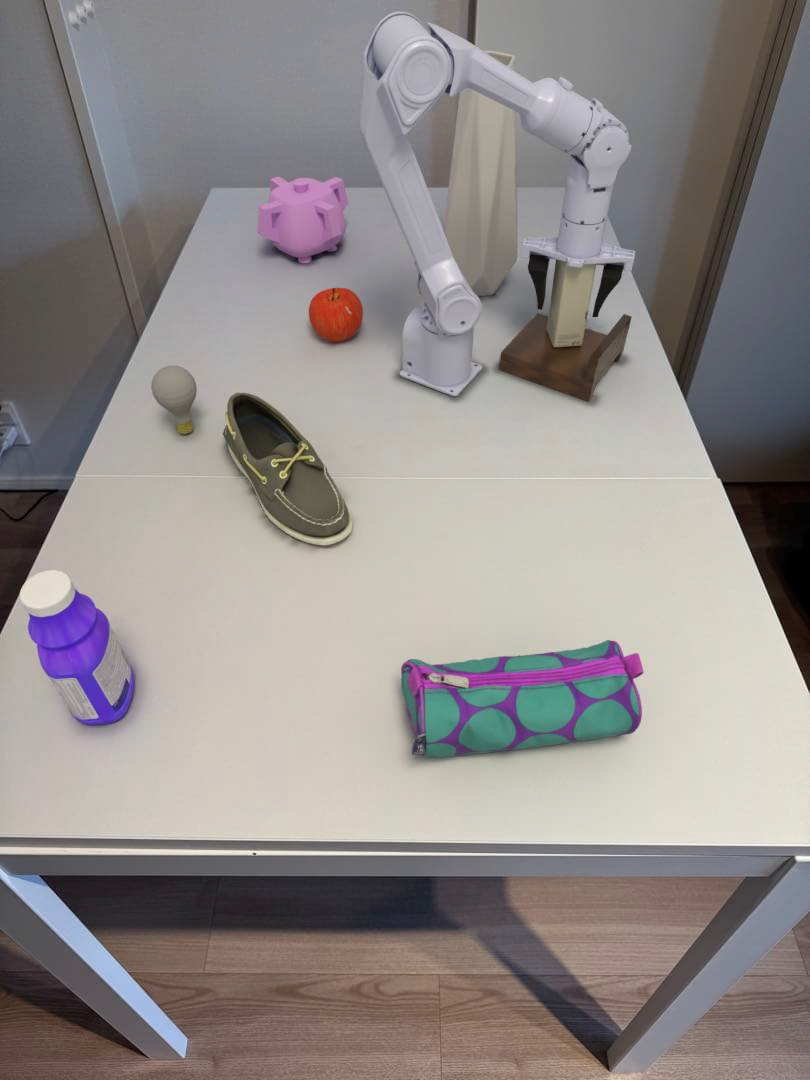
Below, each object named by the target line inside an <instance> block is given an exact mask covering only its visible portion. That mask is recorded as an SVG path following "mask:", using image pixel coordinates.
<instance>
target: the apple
mask: <svg viewBox="0 0 810 1080" xmlns="http://www.w3.org/2000/svg"><path fill="white" fill-rule="evenodd" d="M363 316H364V308H363V304H362V301H361V300H360V297H359V296H358V295H357V294H356V293H355V292H354V291H353V290H351V289H349V288H345V287H330V288H327V289H324V290H321V291H319V292H318V293H316V294H315V295H314V296H313V297H312V298H311V300H310V303H309V306H308V319H309V322H310V326H311V327H312V329H313V330H314V331H315V333H316V334H317V335H318V336H319V337H320V338H322V339H325V340H327V341H329V342H332V343H340V342H343V341H345V340H348V339H350V338H352V337H353V336H354V335H356V334H357V333H358V331H359V330H360V328H361V326H362V322H363Z"/></svg>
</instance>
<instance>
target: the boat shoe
mask: <svg viewBox="0 0 810 1080" xmlns="http://www.w3.org/2000/svg"><path fill="white" fill-rule="evenodd" d="M224 412H225V413H224V416H225V417H224V418H225V422H226V426H225V427H224V429H223V432H222V436H223V439H224V441H225V442H226V445H227V448H228V451H229V455H230V456H231V458H232V460H233V462H234V463H235V465H236V466H237V468H238V469H239V470H240V472H241V473H242V474H243V475H244V477H246V478H247V481H249V483H250V485H251V486H252V488H253V490H254V492H255V494H256V497H257V499H258V502H259V504H260V506H261V508H262V510H263V512H264V513H265V515H266V517H267V518H268V519H269V520H270V521H271V523H273V524H274V525H275V526H276V527H277V528H279V529H280V530H281V531H283V532H284V533H286V534H287V535H289V536H291V537H293V538H294V539H297V540H298V541H302V542H305V543H308V544H311V545H316V546H329V545H333V544H336V543H339V542H341V541H343V540H344V539H346V538H347V537H348V536H350V534H351V533H352V531H353V528H354V520H353V515H352V512H351V510H350V507H349V505H348V504H347V502H346V500H345V499H344V497H343V495H342V494H341V493H340V491H339V488H338V486H337V484H336V483H335V482H334V480H333V478H332V477H331V475H330V474H329V472H328V468H327V465H325V464H324V462H323V461H322V460H321V459H320V457H319V455H318V454H317V452H316V449H315V448H314V446H313V444H311V442H310V441H309V440H308V439H307V438H306V437H305V436H303V434H302V433H301V432H300V431H299V430H298V429H297V428H296V427H295V426H294V425H293V424H292V423H291V422H290V420H289V419H288V418H286V417H285V415H283V414H282V412H281V411H280V410H279V409H278V408H276V407H275V406H273V405H272V404H271V403H269V402H268V401H267V400H265V399H264V398H260V397H259V396H257V395H255V394H251V393H249V392H235V393H233V394H232V395H231V396H230V397H229V399H228V401H227V405H226V410H225V411H224Z"/></svg>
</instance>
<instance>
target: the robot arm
mask: <svg viewBox="0 0 810 1080" xmlns="http://www.w3.org/2000/svg"><path fill="white" fill-rule="evenodd" d="M426 25H427V27H428V30H429V31H428V30H427V29H426V28H425V26H424V24H423V23H422V21H421V20H420V19H419V18H418V17H417V16H416V15H414V14H412V13H410V12H407V11H394V12H391V13H389V14H387V15H385V16H384V17H383V18H382V19H380V21H379V22H378V23H377V24H376V26H375V27H374V30H373V32H372V33H371V36H370V38H369V40H368V42H367V45H366V46H365V48H364V51H363V53H362V63H363V82H362V91H361V100H360V109H359V110H360V111H359V120H358V129H359V133H360V136H361V138H362V141H363V144H364V145H365V147H366V150H367V152H368V155H369V157H370V159H371V162H372V164H373V167H374V169H375V171H376V173H377V176H378V178H379V180H380V183H381V185H382V187H383V190H384V192H385V195H386V197H387V200H388V202H389V204H390V206H391V209H392V212H393V213H394V215H395V218H396V221H397V222H398V225H399V228H400V230H401V233H402V234H403V237H404V239H405V241H406V244H407V246H408V249H409V251H410V253H411V255H412V257H413V260H414V261H413V264H414V266H415V269H416V271H417V278H416V287H417V291H418V293H419V295H420V296H421V297H422V298H423V300H424V304H423V307H415V308H413V309H412V310H411V311H410V313H409V314H408V316H407V318H406V319H405V322H404V325H403V327H402V334H401V359H402V361H401V365H402V367H401V369H402V370H400V371H399V376H400V378H403V379H407V380H409V381H411V382H414V383H417V384H419V385H421V386H422V385H423V386H425V387H428V388H431V389H433V390H436V391H438V392H441V393H443V394H446V395H448V396H451V397H458V396H459V395H460V394H461V392H462V391H463V390H465V388H466V387H467V386H468V385H469V384H470V383H471V382H472V381H473V380H474V379H475V378H476V376H478V374H479V373H480V372H481V371H482V370H483V366H482V365H481V364H479V363H477V362H473V361H472V360H473V348H474V347H473V345H474V334H475V333H474V330H475V326H477V324H478V323H479V320H480V319H481V317H482V314H483V306H482V301H481V299H480V298H479V296H477V295H476V294H474V292H473V290H472V289H471V287H470V286H469V284H468V282H467V281H466V279H465V277H464V276H463V274H462V271H461V269H460V267H459V265H458V264H457V263H456V261H455V259H454V257H453V255H452V252H451V249H450V247H449V244H448V241H447V239H446V236H445V233H444V231H443V229H444V227H443V226H442V223H441V220H440V218H439V214H438V213H437V210H436V207H435V205H434V201H433V199H432V197H431V194H430V191H429V189H428V186H427V183H426V181H425V177H424V176H423V173H422V170H421V168H420V165H419V163H418V159H417V157H416V154H415V152H414V149H413V147H412V143H411V140H410V137H411V135H412V133H413V131H414V129H415V127H416V125H417V124H418V123H419V122H420V121H421V120H422V119H423V118H424V116H425V115H426V114H427V113H428V112H429V111H430V109H432V107H433V106H434V105H435V104H436V103H437V102H438V101H439V100H440V98H441V97H442V96H443V94H446V95H447V96H448V97H449V98H453V97H455V96H456V95H459V94H460V92H461V91H463V90H464V89H466V88H470V89H472V90H474V91H476V92H478V93H480V94H482V95H484V96H486V97H488V98H490V99H492V100H494V101H496V102H498V103H500V104H502V105H504V106H506V107H508V108H510V109H512V110H514V111H516V113H518V114H519V120H520V124H521V127H522V129H523V131H524V132H527V133H528V134H530V135H532V136H533V137H535V138H538V139H539V140H541V141H543V142H545V143H546V144H548V145H550V146H552V147H554V148H556V149H557V150H559V151H561V152H563V153H565V154H569V155H570V156H569V162H568V163H569V164H568V169H567V175H566V183H565V188H564V196H563V200H562V201H563V202H562V208H561V216H560V221H559V229H558V235H557V236H554V237H552V236H551V237H524V239H523V242H522V245H521V247H522V248H521V254H520V255H521V257H520V258H521V259H529V260H528V264H527V271H528V275H529V277H530V278H531V281H532V283H533V286H534V291H535V296H536V301H537V302H536V304H537V308H536V309H537V310H539V311H542V310H543V308H544V306H545V305H544V304H545V300H546V290H547V278H548V271H549V264H550V260H555V261H556V260H561V261H564V262H567V265H568V266H570V267H578V268H581V267H583V264H596V266H603V268H602V272H601V273H602V274H601V277H600V278H601V279H600V284H599V288H598V291H597V294H596V297H595V300H594V301H595V302H594V306H593V311H592V316H591V317H592V318H598V317H599V314H600V311H601V309H602V307H603V305H604V303H605V302H606V300H607V298H608V296H609V295H610V294H611V293H612V292H613V290H614V289H615V288H616V287H617V286H618V285H619V283H620V281H621V279H622V277H623V271H625V272H632V270H633V266H634V262H635V256H636V250H633V249H627V248H623V247H619V246H616V245H612V244H610V243H606V242H603V240H604V236H605V229H606V225H607V219H608V215H609V210H610V206H611V205H610V204H611V199H612V196H613V195H612V194H613V189H614V185H615V182H616V181H617V180H616V179H617V174H618V172H619V169H620V168H621V166H622V165H623V164H624V163H625V161H627V159H628V157H629V155H630V153H631V150H632V144H630V143H629V141H630V134H629V131H627V130H628V129H627V127H626V125H625V124H624V123H623V122H622V121H620V119H618V118H617V117H615V115H614V114H612V112H610V111H609V110H607V109H606V108H605V107H604V105H603V103H602V102H601V101H599V100H598V99H596V98H595V97H594V98H592V99H591V101H590V100H589V99H587V98H585V97H584V96H582V95H581V94H579V93H577V92H576V91H574V90H573V88H574V85H573V84H572V82H570V81H569V80H568V79H566V78H564V77H563V76H560V77H558V79H557V80H555V79H554V78H552V77H544V78H542V79H539V80H537V81H534V82H532V81H530V80H529V79H528V78H525V77H524V76H523V75H521V74H519V73H518V72H516V70H515V71H513V70H512V69H510V68H509V67H507V66H506V65H504V64H502V63H501V62H499V61H498V60H496V59H495V58H493V57H492V56H490V55H489V54H487V53H485V52H484V51H485V50H482V49H481V48H480V47H477V46H476V45H475V44H473V43H472V42H470V41H468V40H467V39H465V38H464V37H462V36H459V35H457V34H455V33H453V32H451V31H449V30H448V29H445V28H443V27H441V26H440V25H437V24H436V23H431V22H429V21H426ZM429 32H430V33H429Z"/></svg>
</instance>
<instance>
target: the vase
mask: <svg viewBox="0 0 810 1080" xmlns="http://www.w3.org/2000/svg"><path fill="white" fill-rule="evenodd" d="M483 51H484V52H485V53H487V54H489V55H490V56H492V57H493V58H495V59H496V60H498V61H499V62H501V63H502V64H504V65H506V66H507V67H509V68H510V69H512V70H513V71H515V72H516V56H515V55H513V54H510V53H505V52H500V51H494V50H483ZM458 95H459V96H458V103H457V112H456V121H455V129H454V135H453V136H454V137H453V144H452V145H453V146H452V154H451V162H450V163H451V164H450V170H449V171H450V172H449V179H448V188H447V195H446V197H447V198H446V204H445V205H446V206H445V212H444V222H443V231H444V233H445V236H446V239H447V241H448V244H449V247H450V249H451V252H452V255H453V257H454V259H455V261H456V263H457V264H458V265H459V267H460V269H461V271H462V274H463V276H464V277H465V279H466V281H467V282H468V284H469V286H470V287H471V289H472V290H473V292H474V294H476V295H477V296H478V297H485V296H487V297H488V296H491V295H494V294H495V293H496V291H497V290H498V289H499V287H500V286H501V284H502V283H503V282H504V280H505V278H506V277H507V275H509V273H510V271H511V270H512V269H513V267H514V265H515V264H516V262H517V259H518V248H519V247H518V243H519V242H518V169H517V168H518V167H517V166H518V164H517V155H518V154H517V112H516V111H514V110H512V109H510V108H508V107H506V106H504V105H502V104H500V103H498V102H496V101H494V100H492V99H490V98H488V97H486V96H484V95H482V94H480V93H478V92H476V91H474V90H472V89H470V88H466V89H464V90H463V91H461V92H459V93H458Z"/></svg>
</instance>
